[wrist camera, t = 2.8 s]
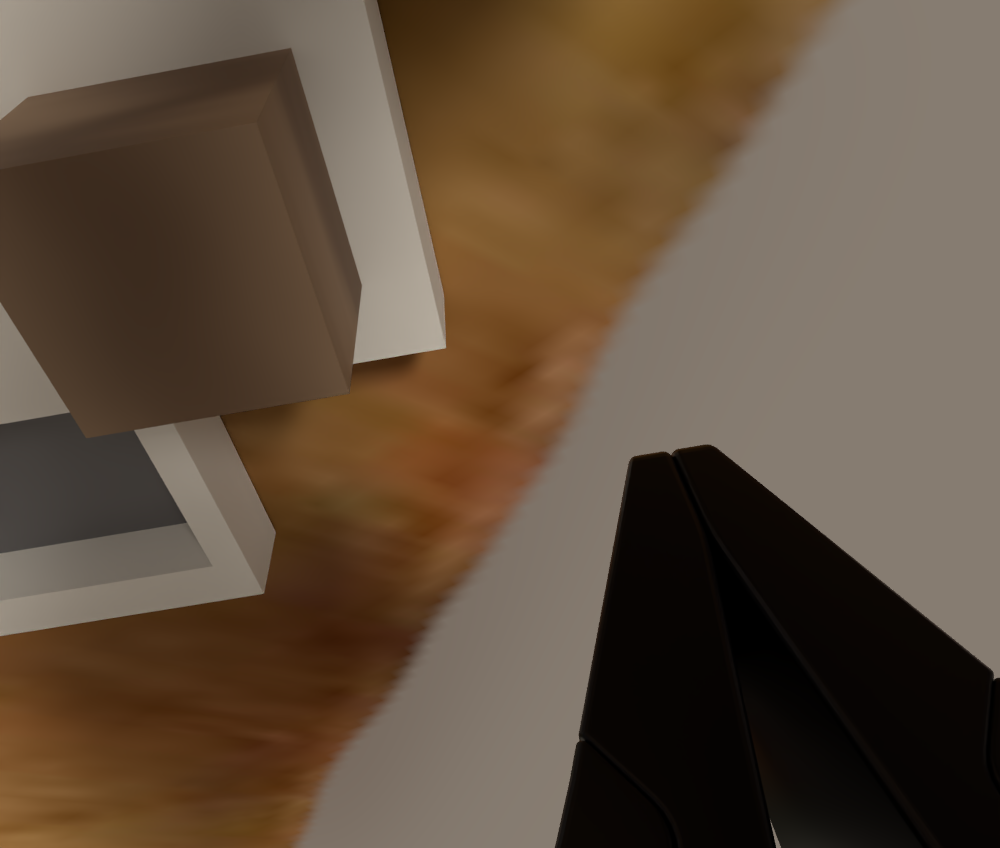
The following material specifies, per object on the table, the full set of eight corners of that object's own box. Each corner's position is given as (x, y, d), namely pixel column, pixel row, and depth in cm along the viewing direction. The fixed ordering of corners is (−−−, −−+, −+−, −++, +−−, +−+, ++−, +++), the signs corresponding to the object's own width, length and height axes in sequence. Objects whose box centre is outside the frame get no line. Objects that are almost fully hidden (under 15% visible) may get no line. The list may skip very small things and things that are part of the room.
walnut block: (290, 47, 15) (256, 122, 12) (361, 285, 18) (349, 394, 15) (27, 97, 15) (-76, 183, 12) (143, 323, 18) (86, 438, 15)
